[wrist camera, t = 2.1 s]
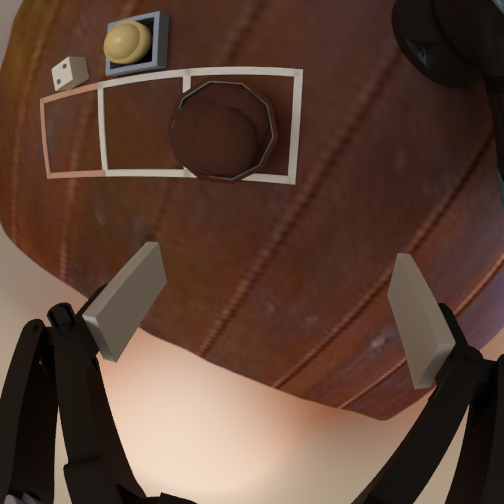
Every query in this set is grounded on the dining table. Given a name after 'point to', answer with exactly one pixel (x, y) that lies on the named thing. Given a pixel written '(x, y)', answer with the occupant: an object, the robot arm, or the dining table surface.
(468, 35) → the robot arm
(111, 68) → the base
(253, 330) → the dining table surface
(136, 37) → the dome
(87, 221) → the dining table surface
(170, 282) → the dining table surface
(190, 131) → the ice cream bowl
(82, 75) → the die
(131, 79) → the track
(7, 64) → the dining table surface
